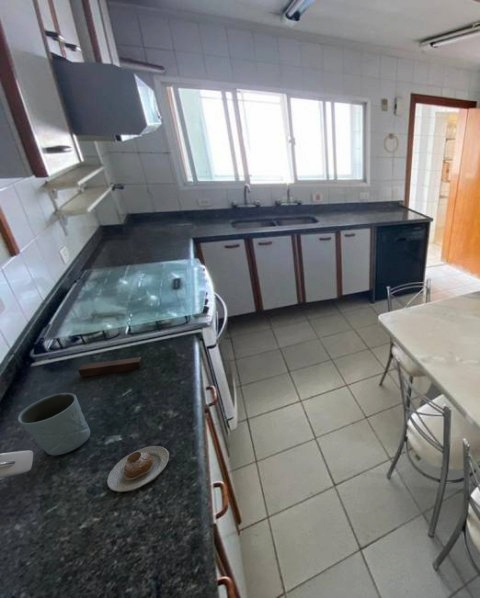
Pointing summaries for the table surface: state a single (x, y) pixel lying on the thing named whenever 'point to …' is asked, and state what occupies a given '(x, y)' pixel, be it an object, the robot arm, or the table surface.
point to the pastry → (138, 469)
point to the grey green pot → (56, 423)
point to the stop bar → (110, 367)
